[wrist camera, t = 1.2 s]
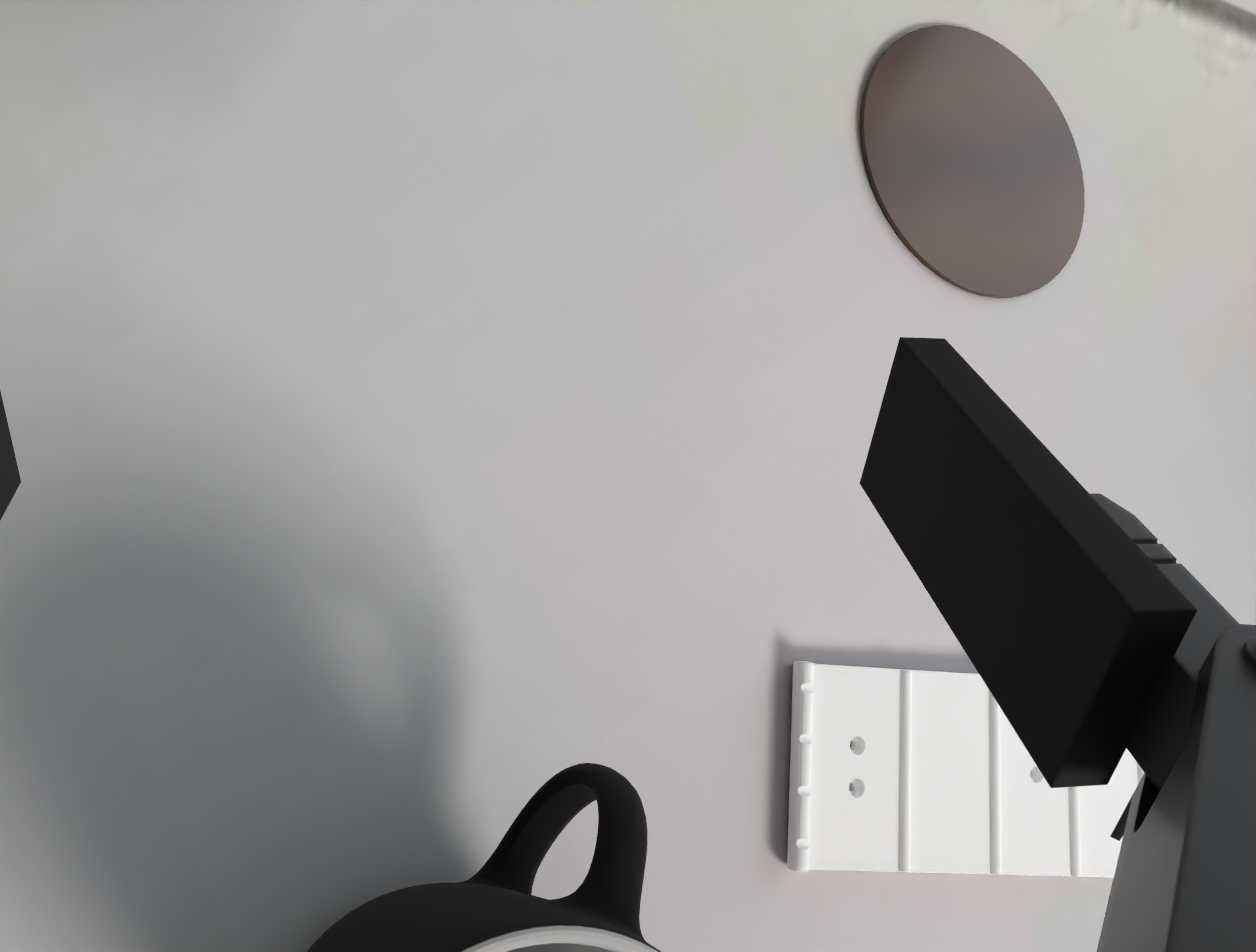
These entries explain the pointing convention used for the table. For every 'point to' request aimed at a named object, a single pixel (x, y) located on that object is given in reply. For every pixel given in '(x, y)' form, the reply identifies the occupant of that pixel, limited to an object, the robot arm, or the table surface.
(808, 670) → the white segmented strip
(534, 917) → the mug
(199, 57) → the table surface
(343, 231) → the table surface
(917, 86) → the coaster
